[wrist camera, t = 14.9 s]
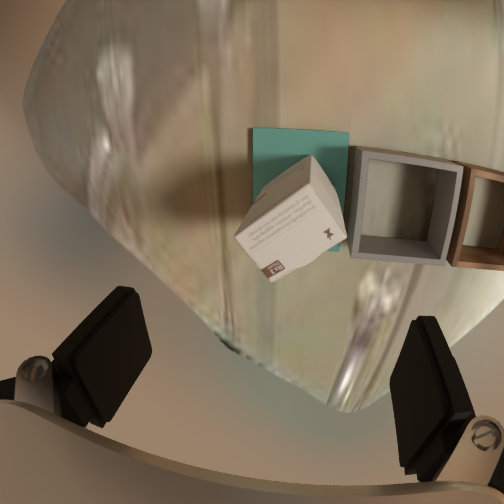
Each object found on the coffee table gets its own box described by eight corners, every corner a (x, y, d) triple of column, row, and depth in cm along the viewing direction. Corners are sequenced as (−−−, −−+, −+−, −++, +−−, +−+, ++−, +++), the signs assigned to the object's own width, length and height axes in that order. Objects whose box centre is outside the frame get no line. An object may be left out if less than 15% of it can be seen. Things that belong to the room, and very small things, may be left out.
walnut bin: (517, 176, 23) (539, 186, 19) (500, 254, 28) (518, 272, 23) (451, 160, 25) (471, 168, 21) (437, 247, 29) (451, 266, 25)
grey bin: (444, 159, 25) (463, 166, 21) (430, 246, 29) (444, 265, 25) (355, 145, 27) (362, 150, 23) (346, 239, 31) (350, 258, 27)
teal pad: (348, 132, 27) (349, 133, 26) (338, 249, 32) (339, 251, 31) (254, 127, 28) (252, 128, 28) (253, 242, 33) (252, 244, 33)
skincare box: (310, 152, 27) (309, 174, 17) (338, 190, 28) (352, 236, 18) (259, 189, 30) (227, 233, 19) (287, 224, 31) (271, 286, 20)
